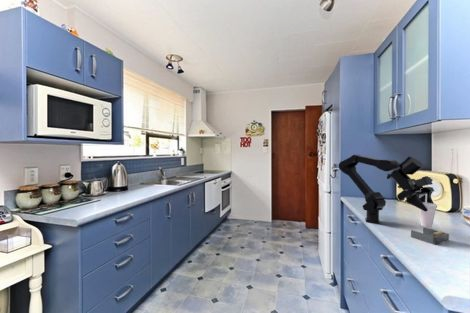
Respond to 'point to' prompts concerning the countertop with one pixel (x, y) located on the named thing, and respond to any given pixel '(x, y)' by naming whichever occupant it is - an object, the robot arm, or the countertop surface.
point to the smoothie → (427, 213)
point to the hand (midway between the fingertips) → (431, 210)
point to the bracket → (430, 236)
